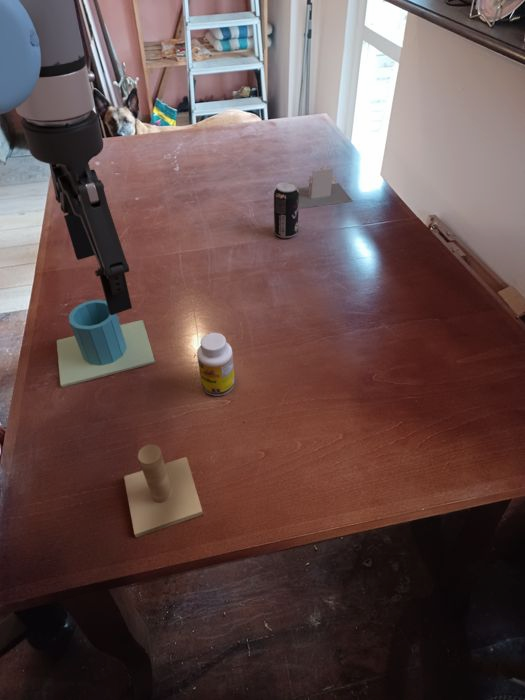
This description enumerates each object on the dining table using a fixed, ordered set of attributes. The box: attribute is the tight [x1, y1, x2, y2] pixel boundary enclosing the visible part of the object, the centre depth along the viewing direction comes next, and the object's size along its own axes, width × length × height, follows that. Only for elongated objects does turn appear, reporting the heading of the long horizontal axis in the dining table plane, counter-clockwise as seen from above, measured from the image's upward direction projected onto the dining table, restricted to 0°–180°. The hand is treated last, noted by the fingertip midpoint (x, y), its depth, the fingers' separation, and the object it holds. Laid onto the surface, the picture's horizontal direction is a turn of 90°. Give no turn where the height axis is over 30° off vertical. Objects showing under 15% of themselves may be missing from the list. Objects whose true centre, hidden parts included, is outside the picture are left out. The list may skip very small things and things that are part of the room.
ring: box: [68, 299, 127, 365], centre depth 83 cm, size 8×8×8 cm
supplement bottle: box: [196, 332, 236, 397], centre depth 77 cm, size 6×6×10 cm
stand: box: [123, 443, 204, 538], centre depth 62 cm, size 9×9×10 cm
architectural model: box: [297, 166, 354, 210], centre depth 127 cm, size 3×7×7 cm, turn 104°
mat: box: [56, 319, 156, 388], centre depth 86 cm, size 16×12×1 cm
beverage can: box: [273, 181, 300, 239], centre depth 111 cm, size 6×6×12 cm
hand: (102, 281), depth 64 cm, fingers open, 13 cm apart
